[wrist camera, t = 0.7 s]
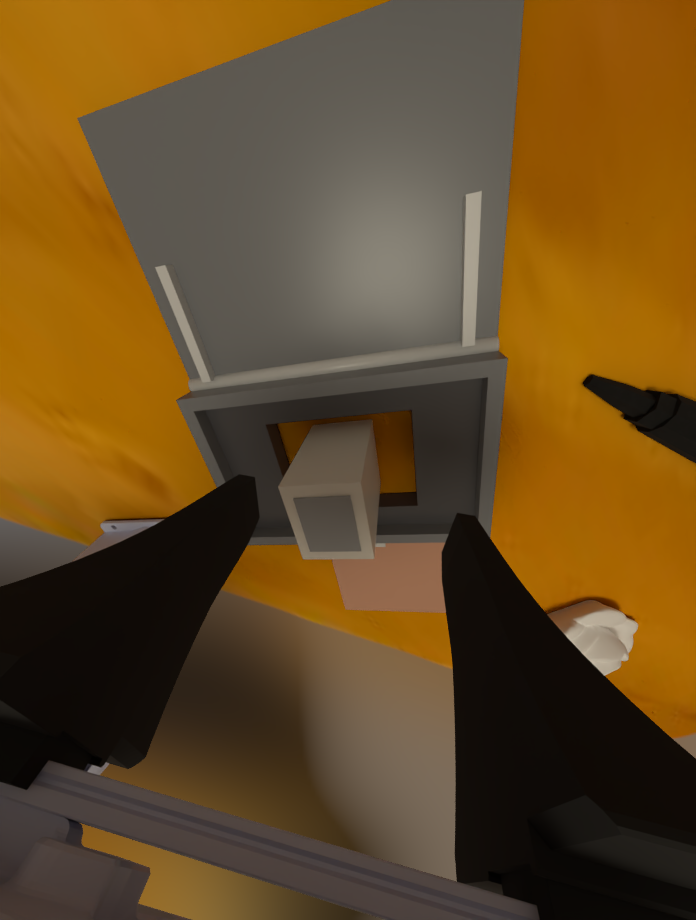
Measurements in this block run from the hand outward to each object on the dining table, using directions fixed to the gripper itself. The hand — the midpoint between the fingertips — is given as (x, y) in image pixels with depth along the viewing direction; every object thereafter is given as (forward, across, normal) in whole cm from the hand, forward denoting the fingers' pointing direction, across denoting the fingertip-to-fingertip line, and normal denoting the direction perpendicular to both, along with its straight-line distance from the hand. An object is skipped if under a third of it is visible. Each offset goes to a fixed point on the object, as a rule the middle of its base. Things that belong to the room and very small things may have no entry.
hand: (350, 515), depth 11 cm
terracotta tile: (+9, -3, +15) cm, 18 cm away
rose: (+10, -20, +19) cm, 29 cm away
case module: (+10, +2, +4) cm, 11 cm away
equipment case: (+10, +3, -2) cm, 10 cm away
